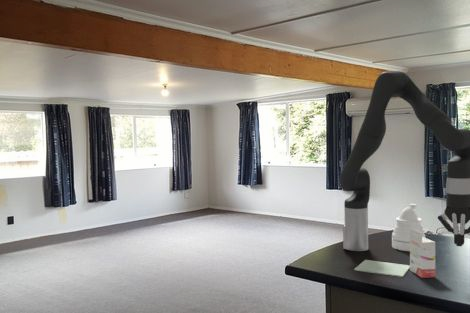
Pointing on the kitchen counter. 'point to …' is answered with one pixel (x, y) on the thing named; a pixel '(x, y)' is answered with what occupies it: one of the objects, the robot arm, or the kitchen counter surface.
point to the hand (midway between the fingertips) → (459, 245)
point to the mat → (383, 268)
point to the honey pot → (406, 228)
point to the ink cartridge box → (422, 255)
